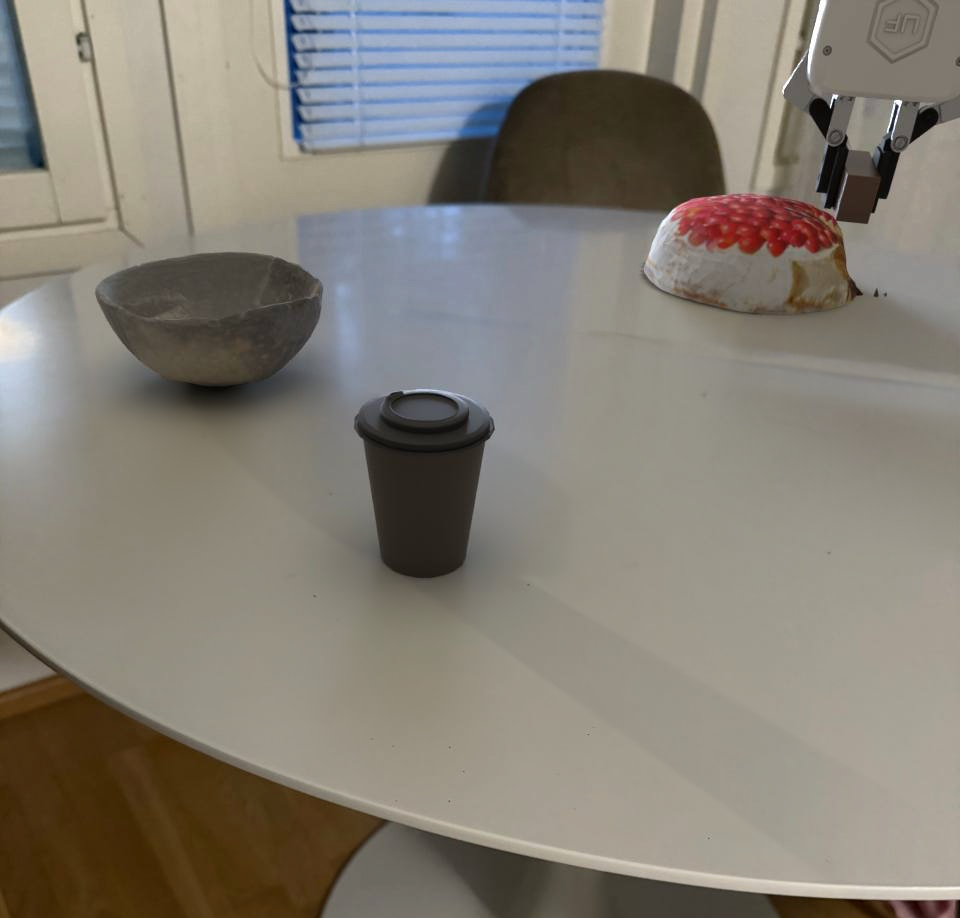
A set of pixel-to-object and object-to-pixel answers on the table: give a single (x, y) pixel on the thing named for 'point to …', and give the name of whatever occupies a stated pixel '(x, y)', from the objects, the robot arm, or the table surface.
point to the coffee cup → (423, 475)
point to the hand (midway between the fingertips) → (847, 204)
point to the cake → (752, 255)
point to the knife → (857, 188)
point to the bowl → (213, 315)
